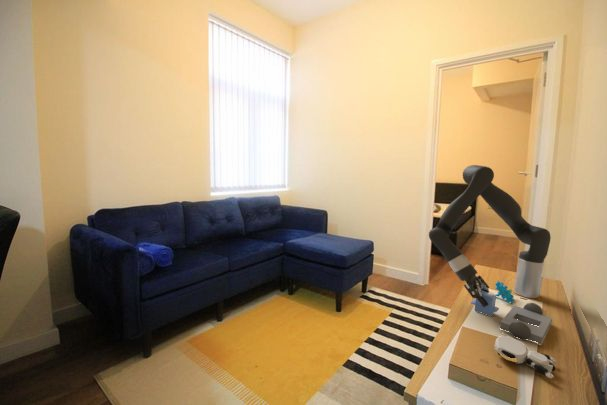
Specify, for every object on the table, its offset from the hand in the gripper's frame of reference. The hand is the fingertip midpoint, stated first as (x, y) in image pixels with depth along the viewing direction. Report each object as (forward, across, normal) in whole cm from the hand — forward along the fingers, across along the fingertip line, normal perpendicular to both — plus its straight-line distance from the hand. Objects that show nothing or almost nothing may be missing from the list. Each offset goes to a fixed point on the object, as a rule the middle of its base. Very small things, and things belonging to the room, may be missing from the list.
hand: (489, 302), depth 115 cm
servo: (+2, 0, +4) cm, 5 cm away
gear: (+4, +21, +3) cm, 21 cm away
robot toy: (+15, -25, -8) cm, 30 cm away
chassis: (+12, 0, -6) cm, 13 cm away
